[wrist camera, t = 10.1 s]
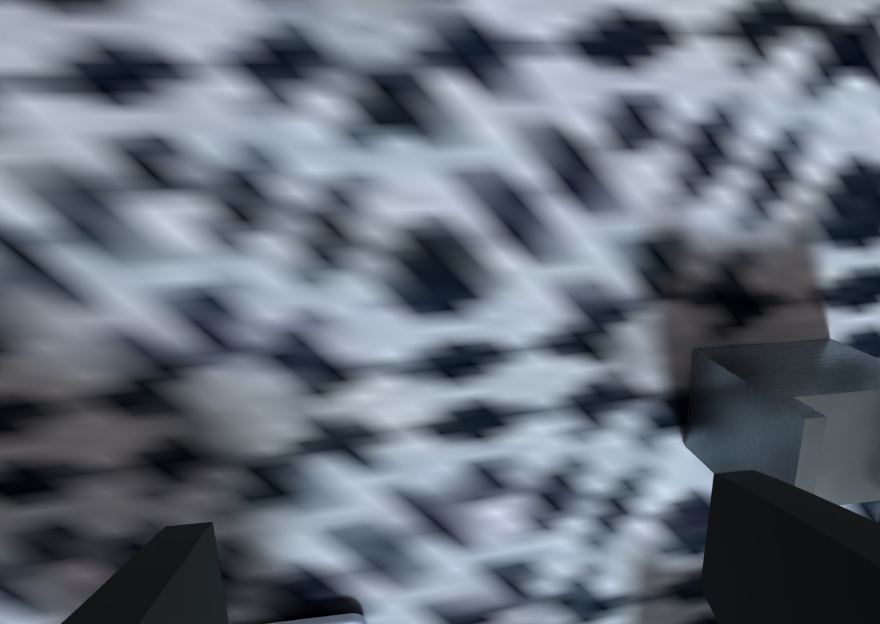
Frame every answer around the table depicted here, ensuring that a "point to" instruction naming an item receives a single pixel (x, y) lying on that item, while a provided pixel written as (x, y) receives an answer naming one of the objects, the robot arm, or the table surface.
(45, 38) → the table surface
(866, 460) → the cradle stands
